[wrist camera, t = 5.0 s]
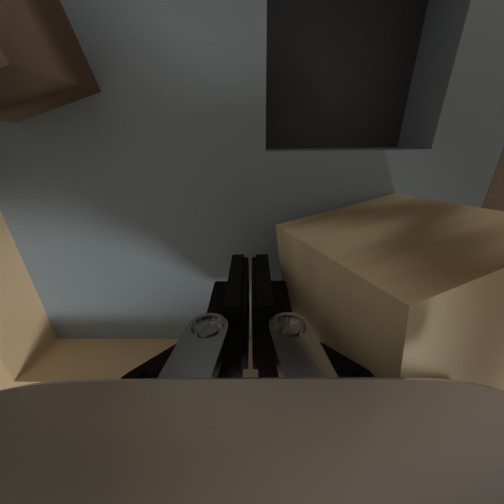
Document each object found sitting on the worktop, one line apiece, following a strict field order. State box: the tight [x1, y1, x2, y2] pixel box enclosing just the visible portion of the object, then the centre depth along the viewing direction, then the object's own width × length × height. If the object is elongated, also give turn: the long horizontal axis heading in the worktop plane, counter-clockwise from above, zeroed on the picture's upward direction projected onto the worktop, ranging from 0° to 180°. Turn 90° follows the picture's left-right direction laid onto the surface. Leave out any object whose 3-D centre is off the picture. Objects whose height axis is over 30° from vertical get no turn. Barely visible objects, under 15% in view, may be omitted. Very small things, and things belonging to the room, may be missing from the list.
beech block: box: [276, 193, 504, 390], centre depth 9 cm, size 6×6×6 cm
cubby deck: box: [0, 0, 504, 390], centre depth 11 cm, size 24×20×6 cm
